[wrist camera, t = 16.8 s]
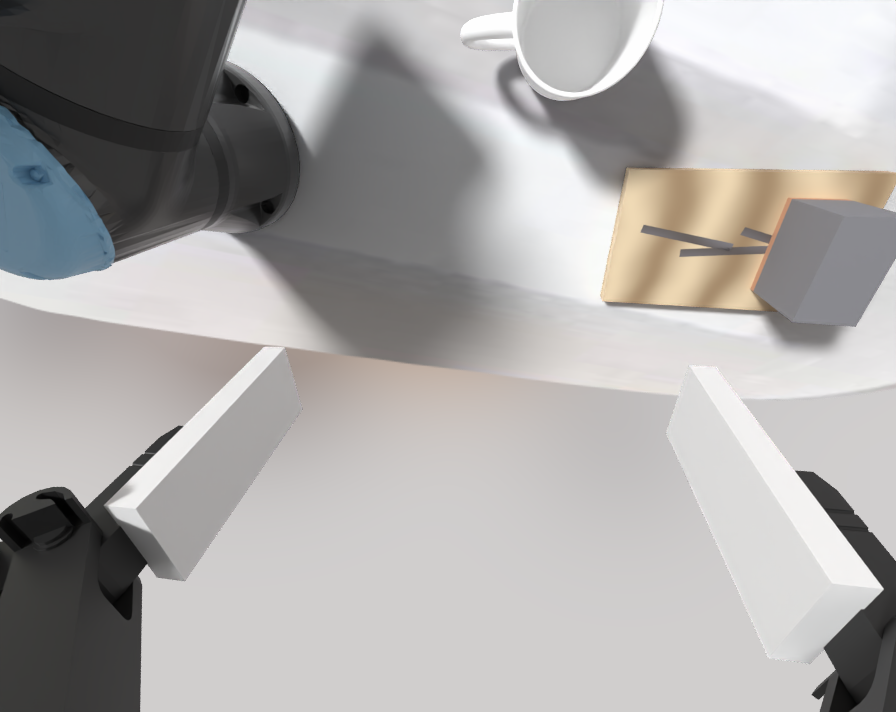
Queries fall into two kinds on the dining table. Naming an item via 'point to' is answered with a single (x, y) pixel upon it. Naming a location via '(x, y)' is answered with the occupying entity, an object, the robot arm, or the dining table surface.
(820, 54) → the dining table surface
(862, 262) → the block
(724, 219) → the board
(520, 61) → the cup
